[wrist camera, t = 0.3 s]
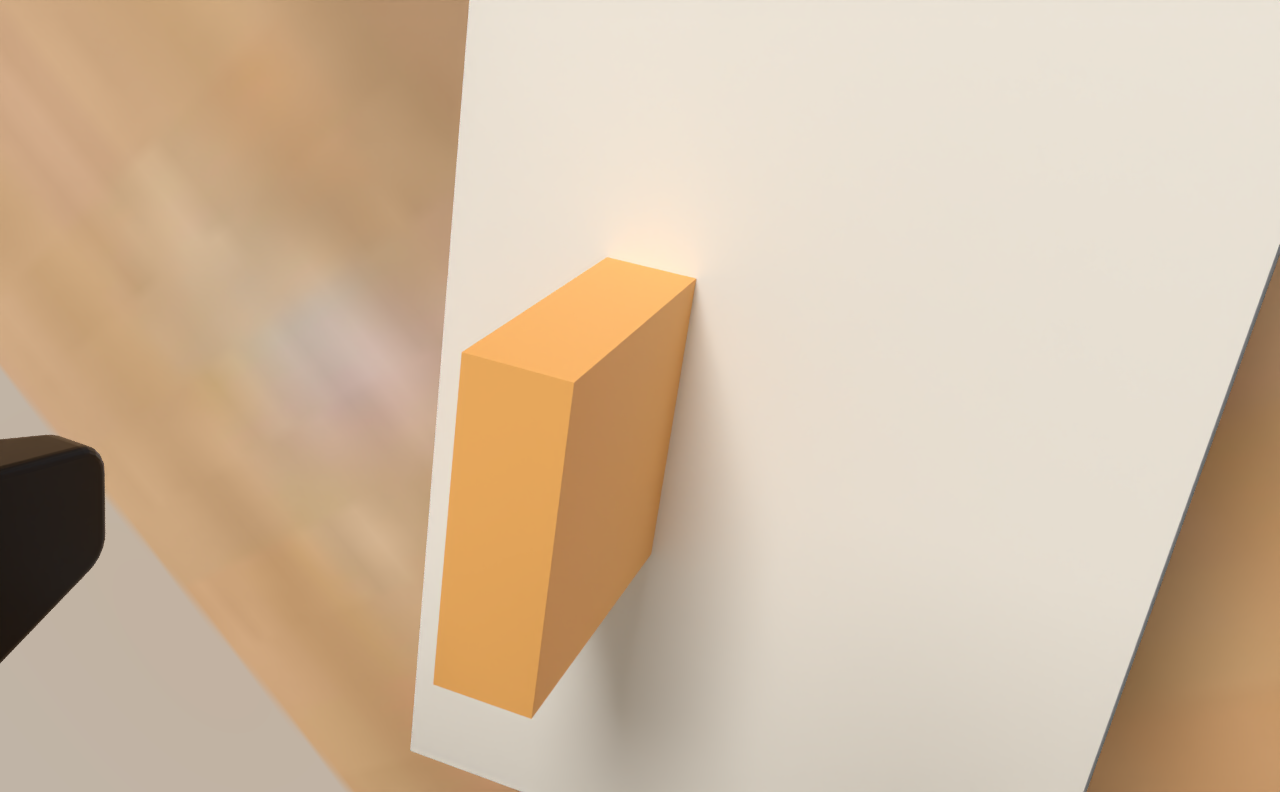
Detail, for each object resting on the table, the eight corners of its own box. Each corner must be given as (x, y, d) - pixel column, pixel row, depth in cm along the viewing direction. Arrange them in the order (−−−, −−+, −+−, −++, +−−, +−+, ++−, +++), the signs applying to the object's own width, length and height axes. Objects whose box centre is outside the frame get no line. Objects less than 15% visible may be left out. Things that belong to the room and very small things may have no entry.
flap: (1020, 943, 18) (996, 1245, 14) (428, 729, 20) (259, 929, 16) (1371, -49, 12) (1505, -39, 8) (505, -176, 15) (279, -216, 11)
